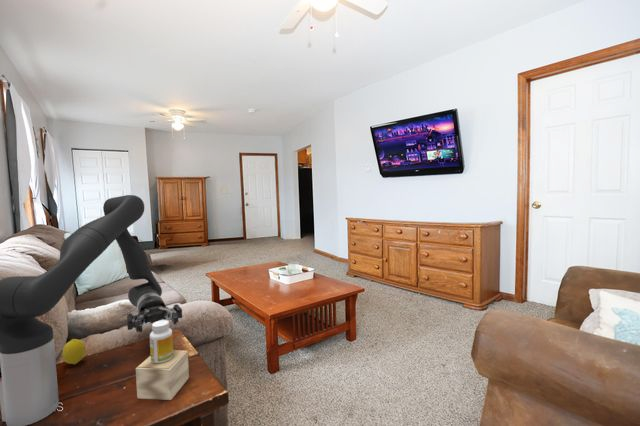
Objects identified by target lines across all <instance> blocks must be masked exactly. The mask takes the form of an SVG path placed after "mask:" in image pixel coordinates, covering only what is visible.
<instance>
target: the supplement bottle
mask: <svg viewBox="0 0 640 426" xmlns="http://www.w3.org/2000/svg"><path fill="white" fill-rule="evenodd" d="M169 321H170V320H168V321H167V320H160V321H157V322H154V323H151V329H152V330H151V332H150V333H149V348H150V349H149V351H150V353H149V355H150V356H151V361H152V362H153V363H163V362H166V361H168V360H170V359H171V358H172V357H173V350H174V341H173V339H174V337H173V330H172V329H171V328H170V322H169Z"/></svg>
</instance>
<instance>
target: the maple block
mask: <svg viewBox="0 0 640 426" xmlns="http://www.w3.org/2000/svg"><path fill="white" fill-rule="evenodd" d="M189 369H190V368H189V352H188V350H181V349H173V357H172V358H171V359H170V360H168V361H166V362H163V363H153V362H152V361H151V355H149V356H148V357H147V358H145V360H144V361H143V362H141V363H140V364H139V365H138V366H137V367H135V379H136V380H135V382H136V383H135V384H136V394H137V395H136V397H137V399H141V400H162V401H163V400H164V401H165V400H166V401H167V400H168V401H171V400H172V399H173V398H175V396H176V395H177V394H178V392H179V391H180V390H181V389H182V387H183V386H184V385H185V383H186V382H187V381H188V380H189V378H190V375H189V374H190V373H189V371H190V370H189Z"/></svg>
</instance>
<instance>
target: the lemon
mask: <svg viewBox="0 0 640 426" xmlns="http://www.w3.org/2000/svg"><path fill="white" fill-rule="evenodd" d="M86 351H87V349H86V344H85V342H83V341H82V340H81V339H76V338H71V340H69V341H68V342H67V343H65V344H64V347H63V348H62V354H61V356H62V359H63V361H64V362H65V363H67V364H70V365H71V364H72V365H76V364H78V363H79V362H80V361H82V360H83V358H84V357H85V356H86V355H85V354H86Z"/></svg>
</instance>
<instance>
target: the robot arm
mask: <svg viewBox="0 0 640 426" xmlns="http://www.w3.org/2000/svg"><path fill="white" fill-rule="evenodd" d="M102 211H103V216H101V217H99V218H98V217H97V218H96V219H93V220H92V221H89V222H88V223H85V224H84V225H82V226H80V227H79V228H77V229H76V230H74V232H72V233H71V234H70V235H69V236H67V237H66V238H65V239H64V240H63V242H62V244H61V245H60V252H59V253H60V254H59V259H58V261H57V262H56V263H55V264H54V265H53V266H52V267H50V268H49V269H48V270H47V271H45V272H43V273H42V274H40V275H30V276H29V275H28V276H27V275H26V276H24V275H23V276H19V275H18V276H8V277H4V278H3V279H0V373H1V380H0V412H1V421H2V422H5V424H6V426H28V425H33V424H34V423H37V422H39V421H41V420H43V419H45V418H47V417H49V415H51V414H52V413H53V412H56V410H57V408H58V406H59V403H60V401H59V388H58V387H59V386H58V378H57V375H58V374H57V364H56V351H55V338H54V329H53V327H52V326H51V325H50V324H49V323H45V322H43V321H41V320H40V319H38V318H37V317H40V316H43V315H45V314H47V313H49V312H50V311H51V310H52V309H54V307H55V306H57V305H58V303H59V302H60V301H61V299H63V297H64V296H65V295H66V293H67V292H68V291H69V289H70V288H71V286H72V285H73V284H74V283H75V281H76V280H78V279H79V278H80V276H81V275H82V274H83V273H84V272H85V271H86V270H87V268H88V267H90V266H91V264H92V263H94V262H95V261H96V260H97V258H99V257H100V256H101V255H102V254H103V253H104V252H105V251H106V250H107V249H108V247H109V246H111V244H112V243H114V241H116V243H117V245H118V247H119V249H120V251H121V254H122V255H123V260H124V263H125V266H126V267H125V268H126V270H127V274H128V278H129V279H130V280H133V281H135V280H146V281H147V282H145V283H141V284H138V285H135V286H133V287H131V288H130V289H129V291H128V292H127V293H128V294H127V297H128V300H129V302H130V304H132V305H133V307H134V308H135V307H136V309H137V311H136V312H137V315H134V314H133V313H129V314H127V315H126V323H127V324H126V325H127V331H131V330H133V329H135V332H137V333H139V334H142V333H143V331H144V330H143V327H146V326H148V325H149V324H153V323H154V322H157V321H160V320H167V321H171V323H172V324H173V325H177V324H178V323H179V319H182V318H183V308H182V307H180V305H179V304H174V305H173V307H171V308H169V307H168V306H166V304H165V302H164V300H163V298H162V294H163V290H162V289H163V288H162V286H161V285H160V284H159V282H158V280H157V278H155V276H154V274H153V271H152V269H151V266H150V262H149V259H148V255H147V252H146V251H145V249H144V248H143V246H142V245H140V243H139V242H138V241H137V240H136V239H134V237H133V236H132V235H131V233H130V232H129V229H128V228H129V227H131V226H132V225H134V224H135V223H136V222H137V221H138V220H139V219H141V218H142V216H143V215H144V212H145V203H144V201H143V199H142V198H141V197H140V196H137V195H134V194H125V195H121V196H115V197H111V198H107V199H106V200H105V201H104V203H103V209H102Z"/></svg>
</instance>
